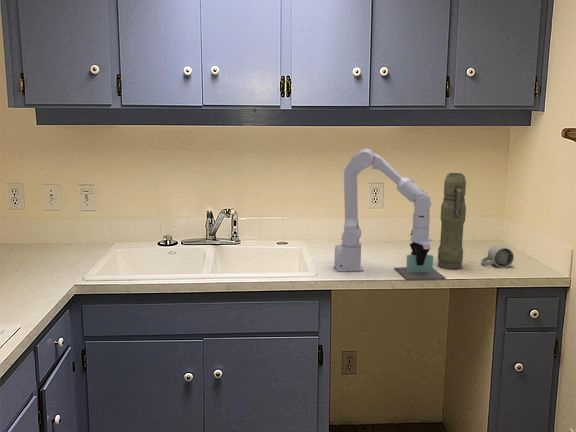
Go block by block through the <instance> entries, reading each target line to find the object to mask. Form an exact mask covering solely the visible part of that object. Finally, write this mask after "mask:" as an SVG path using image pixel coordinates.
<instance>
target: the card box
mask: <svg viewBox="0 0 576 432" xmlns="http://www.w3.org/2000/svg"><path fill="white" fill-rule="evenodd" d="M433 265H434V255H432V254H427V255H426V258H425V261H424V264H423V265H417V262H416V255H412V254H407V255H406V271H407V272H408V273H419V272H432V270H433V269H434V266H433Z"/></svg>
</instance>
